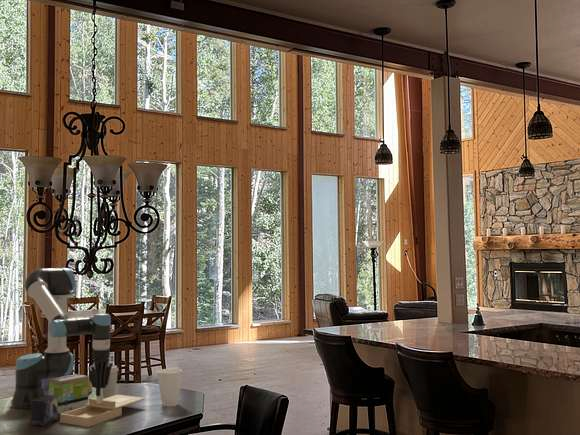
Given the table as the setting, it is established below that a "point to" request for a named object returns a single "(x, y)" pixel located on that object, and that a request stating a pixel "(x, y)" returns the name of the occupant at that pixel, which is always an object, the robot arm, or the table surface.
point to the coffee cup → (111, 383)
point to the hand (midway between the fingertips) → (99, 402)
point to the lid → (115, 401)
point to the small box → (44, 410)
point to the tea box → (70, 391)
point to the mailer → (89, 415)
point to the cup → (169, 385)
